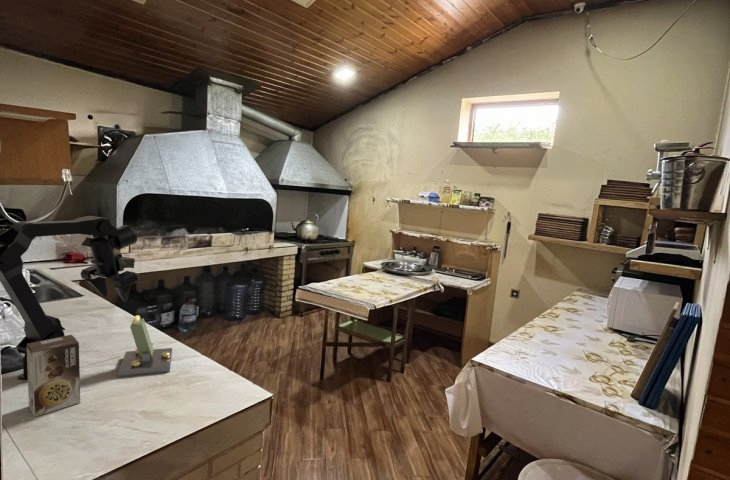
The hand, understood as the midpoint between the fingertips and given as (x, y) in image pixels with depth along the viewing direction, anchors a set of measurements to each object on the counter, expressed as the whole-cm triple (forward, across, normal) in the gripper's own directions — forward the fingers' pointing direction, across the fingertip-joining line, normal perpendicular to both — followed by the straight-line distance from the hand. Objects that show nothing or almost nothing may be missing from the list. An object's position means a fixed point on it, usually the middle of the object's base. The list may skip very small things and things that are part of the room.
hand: (115, 298), depth 127 cm
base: (+15, -19, +8) cm, 26 cm away
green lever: (+12, -19, +8) cm, 24 cm away
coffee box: (+9, -18, +33) cm, 39 cm away
